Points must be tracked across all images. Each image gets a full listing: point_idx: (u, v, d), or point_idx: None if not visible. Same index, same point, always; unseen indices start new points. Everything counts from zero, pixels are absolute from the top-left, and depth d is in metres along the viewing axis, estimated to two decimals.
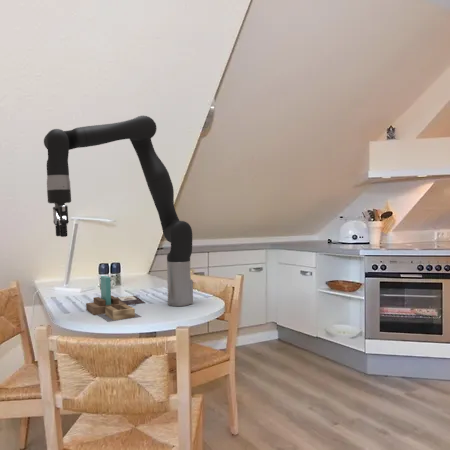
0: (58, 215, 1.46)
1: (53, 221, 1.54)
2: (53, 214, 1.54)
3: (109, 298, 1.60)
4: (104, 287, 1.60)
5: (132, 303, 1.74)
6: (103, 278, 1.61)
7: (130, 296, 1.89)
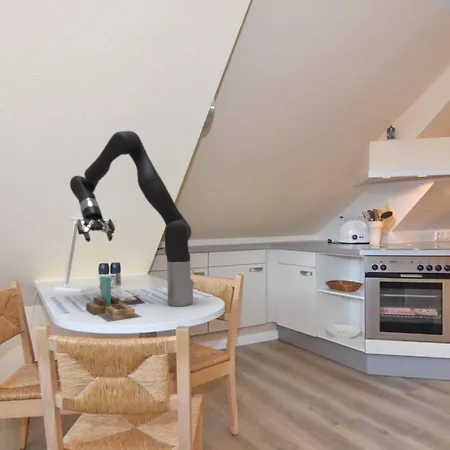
0: None
1: None
2: None
3: (109, 298, 1.60)
4: (104, 287, 1.60)
5: (132, 303, 1.74)
6: (103, 278, 1.61)
7: (130, 296, 1.89)
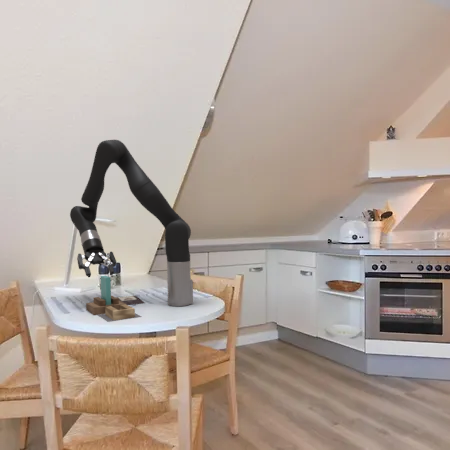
0: (90, 262, 1.70)
1: None
2: None
3: (109, 298, 1.60)
4: (104, 287, 1.60)
5: (132, 303, 1.74)
6: (103, 278, 1.61)
7: (130, 296, 1.89)
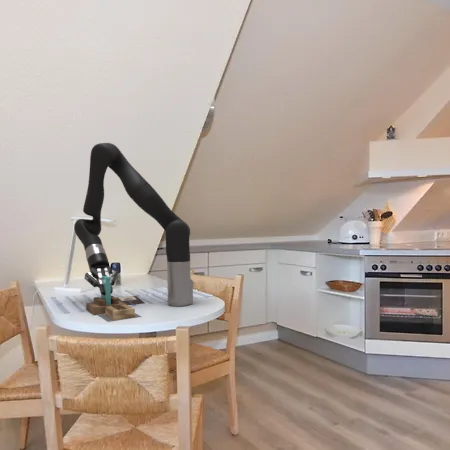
0: None
1: None
2: None
3: (109, 298, 1.60)
4: (104, 287, 1.60)
5: (132, 303, 1.73)
6: (103, 278, 1.61)
7: (130, 296, 1.88)
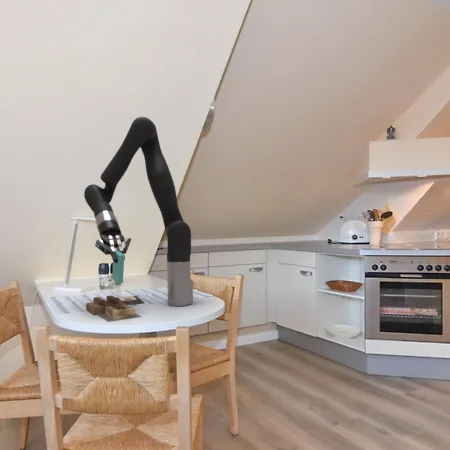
0: None
1: None
2: None
3: (121, 276, 1.51)
4: (117, 264, 1.51)
5: (132, 303, 1.73)
6: None
7: (130, 296, 1.88)
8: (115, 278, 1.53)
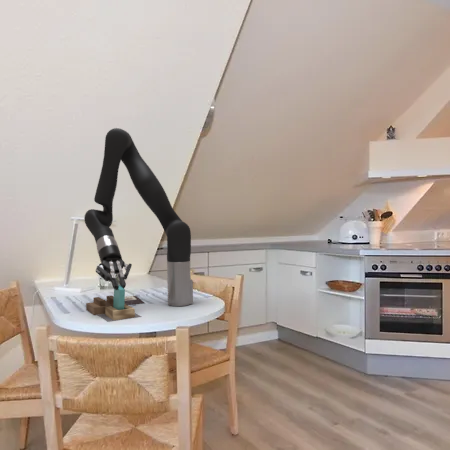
0: None
1: None
2: None
3: None
4: (117, 298, 1.51)
5: (131, 303, 1.73)
6: None
7: (130, 296, 1.88)
8: None
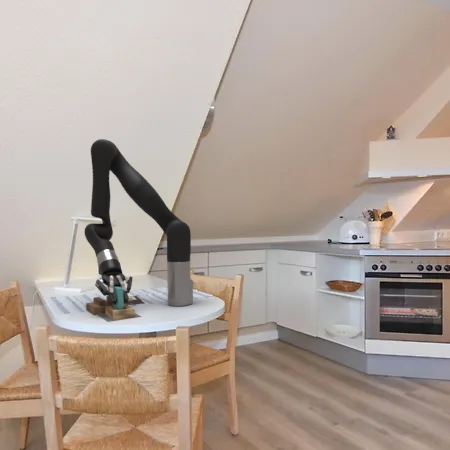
0: None
1: None
2: None
3: None
4: (116, 299, 1.51)
5: (131, 303, 1.73)
6: (115, 289, 1.52)
7: (130, 296, 1.88)
8: None
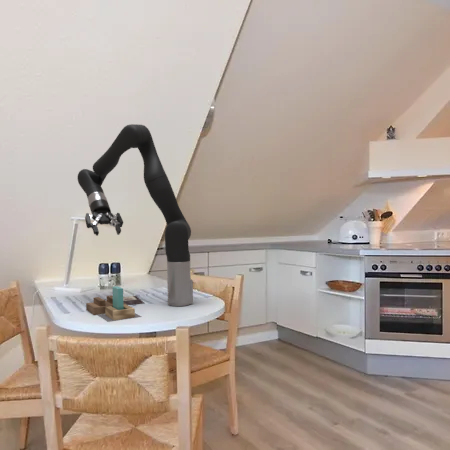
0: (97, 222, 1.73)
1: None
2: None
3: None
4: (116, 299, 1.51)
5: (131, 303, 1.73)
6: (115, 289, 1.52)
7: (130, 296, 1.88)
8: None
